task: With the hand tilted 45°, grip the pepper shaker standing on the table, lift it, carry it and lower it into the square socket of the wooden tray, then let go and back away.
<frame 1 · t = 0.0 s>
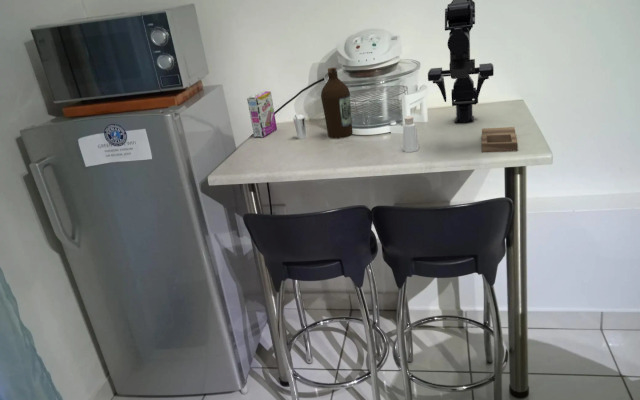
hand: (460, 100, 150), 15 cm above the table, tool pointing down, fingers open, 9 cm apart
pepper shaker: (410, 150, 160), on the table
wooden tray: (498, 143, 154), on the table
candy bar box: (266, 134, 202), on the table
olive oil: (340, 135, 186), on the table
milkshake: (301, 138, 189), on the table
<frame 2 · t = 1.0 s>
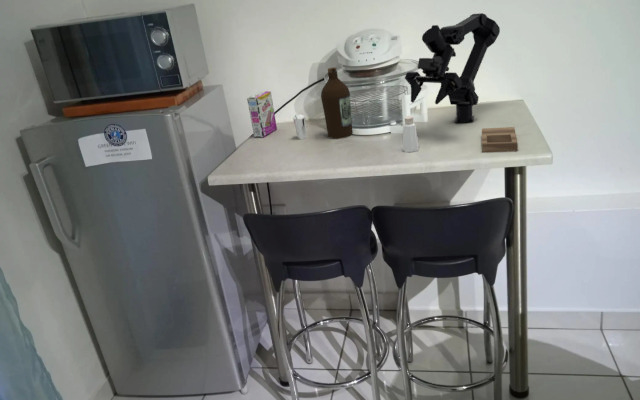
hand: (423, 102, 159), 13 cm above the table, tool tilted 45°, fingers open, 9 cm apart
nothing on the table moved.
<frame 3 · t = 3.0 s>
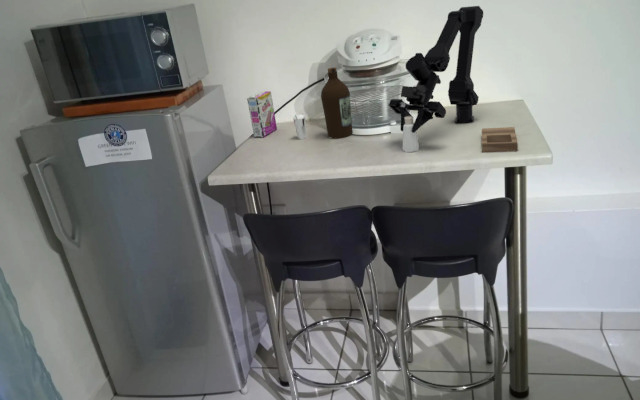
hand: (407, 131, 156), 7 cm above the table, tool tilted 45°, fingers closed on pepper shaker, 4 cm apart
pepper shaker: (410, 150, 160), on the table, touching gripper
everything else where it was.
when the fingers open (8 cm above the table, at t = 7.9 s): pepper shaker drops 1 cm, resting in wooden tray.
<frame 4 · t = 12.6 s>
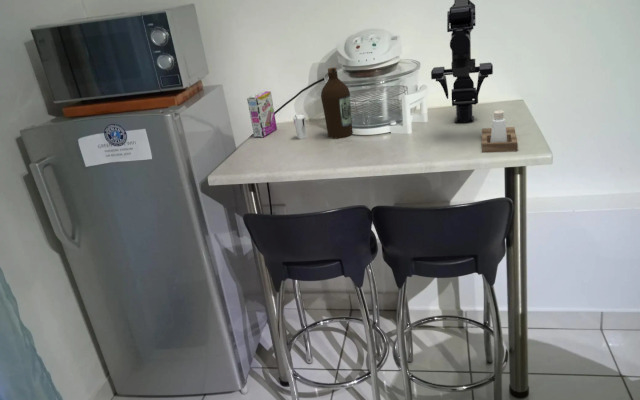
hand: (462, 97, 159), 13 cm above the table, tool pointing down, fingers open, 9 cm apart
pepper shaker: (498, 146, 151), resting in wooden tray
everything else where it was.
at the end: pepper shaker 0.2 cm from the target spot on the wooden tray, point 0.0 cm above the wooden tray's base; pepper shaker tilted 0°; the gripper is holding nothing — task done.
